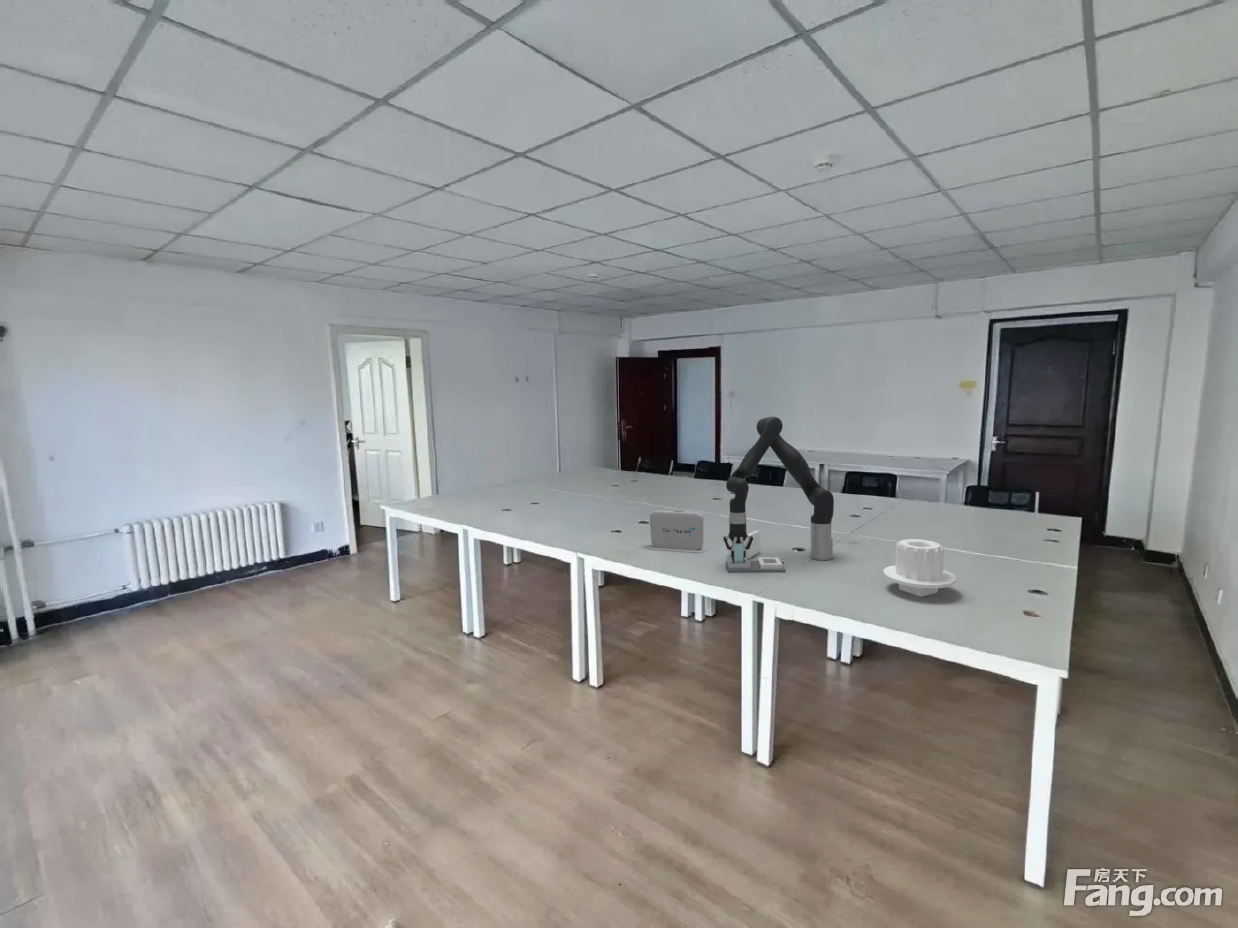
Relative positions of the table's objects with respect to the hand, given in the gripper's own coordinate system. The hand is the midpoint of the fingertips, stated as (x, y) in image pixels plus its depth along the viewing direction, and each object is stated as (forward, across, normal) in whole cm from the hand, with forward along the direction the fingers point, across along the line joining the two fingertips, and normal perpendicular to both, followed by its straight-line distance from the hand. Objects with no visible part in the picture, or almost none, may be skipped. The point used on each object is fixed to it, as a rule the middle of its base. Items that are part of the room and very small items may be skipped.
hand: (738, 558), depth 259 cm
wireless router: (+5, +28, -32) cm, 43 cm away
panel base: (+5, -7, 0) cm, 8 cm away
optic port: (+5, 0, 0) cm, 5 cm away
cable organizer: (+5, -5, -20) cm, 21 cm away
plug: (+3, 0, 0) cm, 3 cm away
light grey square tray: (+5, -14, 0) cm, 15 cm away
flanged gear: (+5, -66, +31) cm, 73 cm away
